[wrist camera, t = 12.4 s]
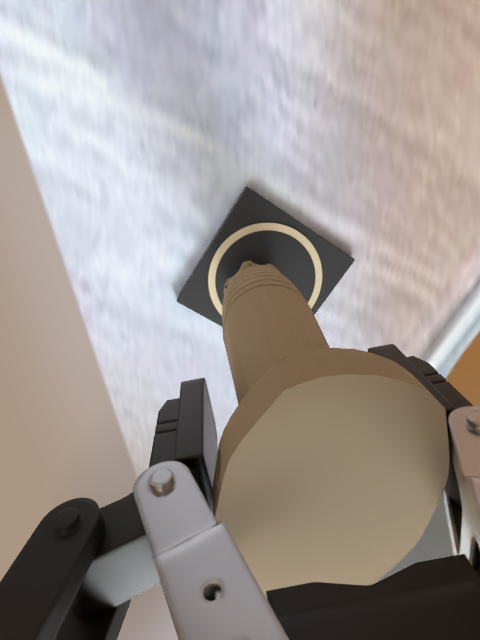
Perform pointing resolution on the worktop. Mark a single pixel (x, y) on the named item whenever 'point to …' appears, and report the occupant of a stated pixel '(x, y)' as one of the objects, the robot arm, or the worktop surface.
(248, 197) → the slate board
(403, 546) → the handle
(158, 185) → the worktop surface
